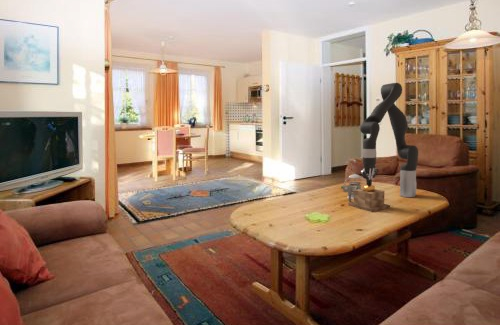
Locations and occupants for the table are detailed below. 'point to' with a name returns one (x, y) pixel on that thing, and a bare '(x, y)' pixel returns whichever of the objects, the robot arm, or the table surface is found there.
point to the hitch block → (369, 200)
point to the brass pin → (369, 188)
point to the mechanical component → (349, 190)
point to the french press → (353, 183)
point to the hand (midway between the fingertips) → (369, 185)
